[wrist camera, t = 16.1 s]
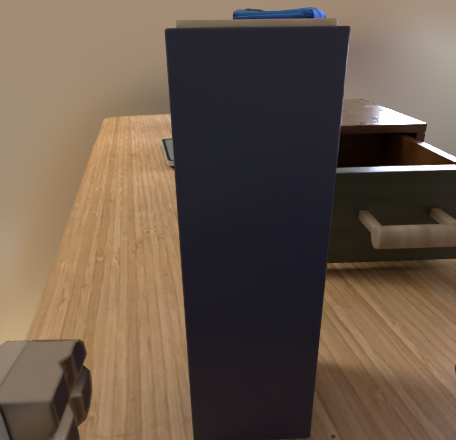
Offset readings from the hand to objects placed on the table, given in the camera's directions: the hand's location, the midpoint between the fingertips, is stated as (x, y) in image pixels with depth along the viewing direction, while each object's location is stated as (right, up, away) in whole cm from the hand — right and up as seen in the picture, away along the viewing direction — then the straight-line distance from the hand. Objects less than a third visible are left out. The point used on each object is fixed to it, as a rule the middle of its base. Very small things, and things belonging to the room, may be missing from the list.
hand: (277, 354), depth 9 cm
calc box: (0, -6, +11) cm, 12 cm away
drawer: (+10, +2, +26) cm, 28 cm away
